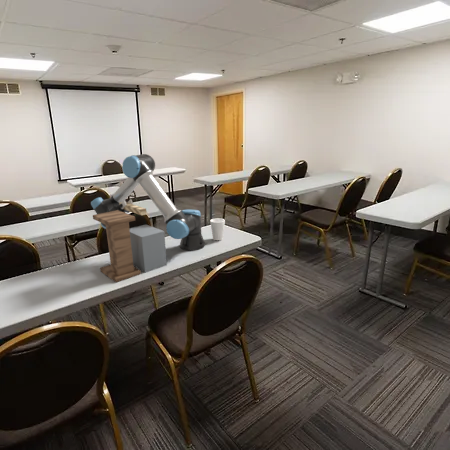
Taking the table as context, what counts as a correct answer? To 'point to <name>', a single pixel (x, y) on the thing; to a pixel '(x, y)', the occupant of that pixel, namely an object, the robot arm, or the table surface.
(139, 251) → the grey block
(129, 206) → the notched tan bar
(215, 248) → the table surface
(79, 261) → the table surface
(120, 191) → the robot arm
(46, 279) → the table surface
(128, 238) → the walnut stand
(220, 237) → the foam cup
